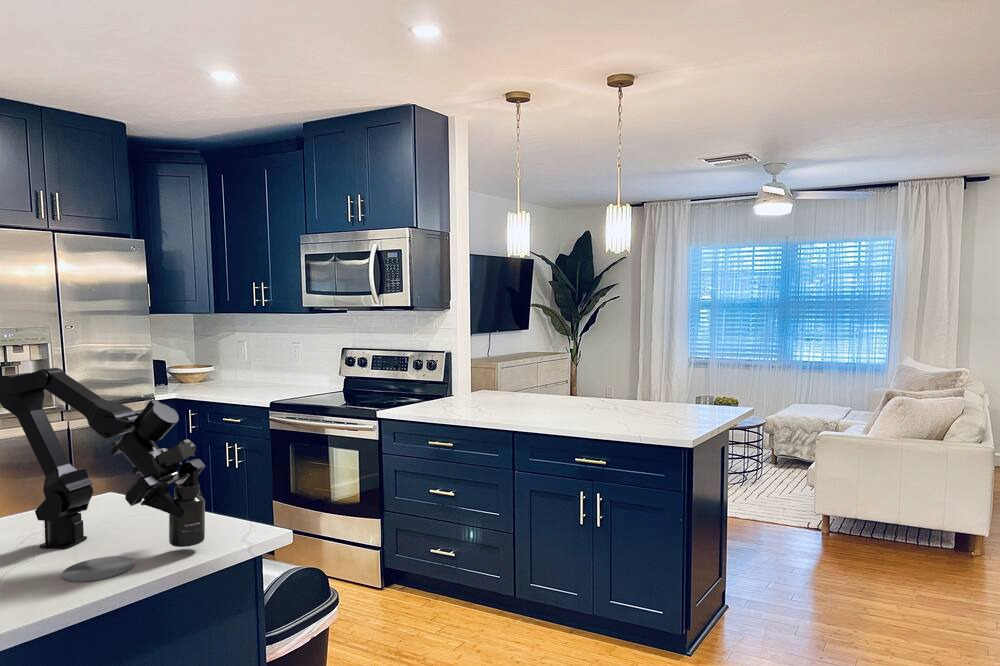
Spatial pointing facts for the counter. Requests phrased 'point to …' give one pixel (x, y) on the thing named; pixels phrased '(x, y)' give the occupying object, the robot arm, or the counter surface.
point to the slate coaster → (98, 568)
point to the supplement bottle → (187, 516)
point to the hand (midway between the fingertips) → (192, 510)
